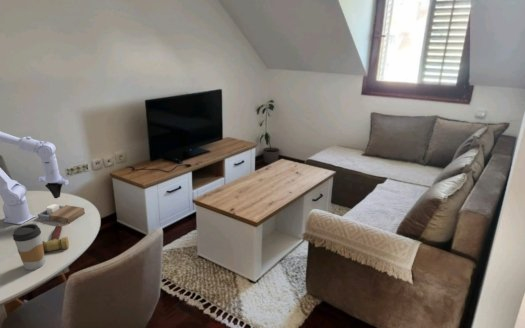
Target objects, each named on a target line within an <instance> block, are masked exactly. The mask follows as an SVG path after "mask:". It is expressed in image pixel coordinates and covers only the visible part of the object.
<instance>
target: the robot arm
mask: <svg viewBox="0 0 525 328" xmlns="http://www.w3.org/2000/svg"><path fill="white" fill-rule="evenodd" d="M0 143H4V144H9V145H11V146H13V145H14V146H17V147H18V150H21V151H23V152H24V151H25V152H28V153H31V154H35V155H37V156H38V157H39V158H40V161H41V166H42V169H43V174H44V176H43V175H42V176H39V177H38V182H39V183H42V182H44V183H47V184H45V188H47V189H48V190H49V191H50V193H51V195H52V197H53V198H54V199H58V198H60V197H61V191H62V187H63V185H64V186H68V185H69V184H70V182H69V179H67V178H65V177H63V176H62V175H61V174H60V169H59V163H58V159H57V156H56V151H57V146H56V145H55V143H53V142H52V141H49V140H48V141H43V140H38V139H35V138H32V136H29V135H28V136H23V137H18V136H15V135H11V134H9V133H6V132H3V131H0ZM27 192H28V191H27V188H26V186H24V185H23V184H21V183H20V182H18V180H16V179H15V180H14V179H11V177H9V176H8V174H7V173H6V172H5V171H4V170H3V168H1V167H0V197H1V199H2V201H3V205H2V212H3V215H4V218H5V219H4V220H3V221H4V223H8V224H9V223H10V224H15V225H22V224H24V223H26V222H28V221H29V220H32V219H33V218H35V217H36V215H34V214H31V213H30V209H29V208H30V207H29V205H28V200H27V197H26V195H27Z"/></svg>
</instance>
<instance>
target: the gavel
mask: <svg viewBox="0 0 525 328" xmlns="http://www.w3.org/2000/svg"><path fill="white" fill-rule="evenodd" d="M62 229H63V227H62V226H61V224H58V225H56V226H55V228H54V230H53V233H52V237H51V240H47V241H44V240H42V243H43V249H44V254H45V253H46V252H53V251H57V250H61V249H62V250H66V249H69V247H70V241H69V238H68V236H63V237H61V238H60V236H61V234H62V233H61V232H62Z"/></svg>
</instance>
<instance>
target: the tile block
mask: <svg viewBox="0 0 525 328" xmlns="http://www.w3.org/2000/svg"><path fill="white" fill-rule="evenodd" d="M59 206H60V204H56V203H52V204H50V205H47V206H46V207H45V210H47V214H48V215H50V214H52V213H53V212H55V211H57V210H59V209H60V208H59Z"/></svg>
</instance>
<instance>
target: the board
mask: <svg viewBox="0 0 525 328" xmlns="http://www.w3.org/2000/svg"><path fill="white" fill-rule="evenodd" d="M63 206H64V207H62V208H60V209H59V210H57V211H55V212H53V213H52V214H50V215H49V217H50V221H49V222H55V223H62V224H67V225H69V224H71V223H72V222H74V221H76V220H78V219H79V218H80V217H81V216H84V215H85V214H86V212H85V208H84V207H82V206H74V205H67V204H66V205H63Z"/></svg>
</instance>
